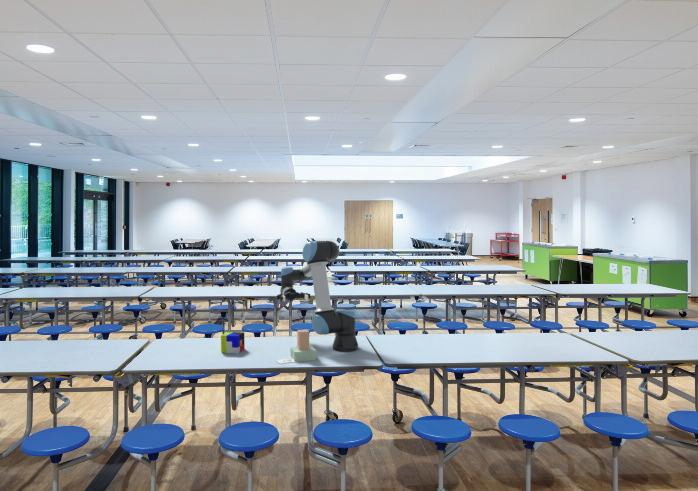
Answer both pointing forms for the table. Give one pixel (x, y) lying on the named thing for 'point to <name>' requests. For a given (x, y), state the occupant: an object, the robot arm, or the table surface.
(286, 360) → the page
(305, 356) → the base block
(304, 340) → the brick
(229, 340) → the puzzle toy
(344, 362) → the table surface
